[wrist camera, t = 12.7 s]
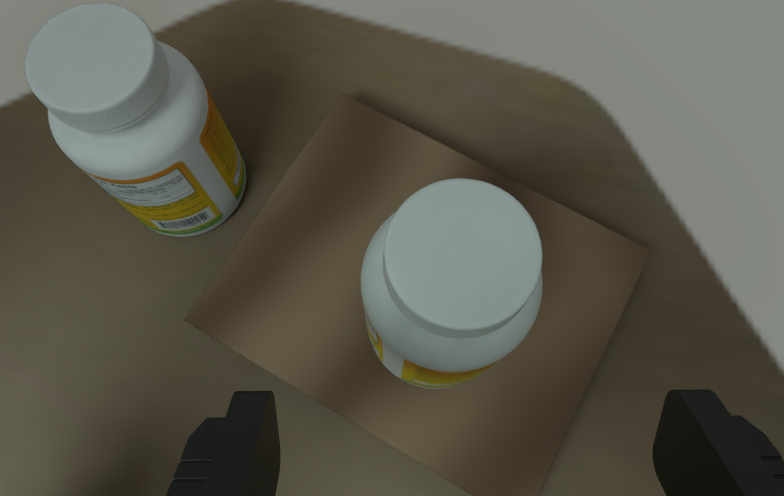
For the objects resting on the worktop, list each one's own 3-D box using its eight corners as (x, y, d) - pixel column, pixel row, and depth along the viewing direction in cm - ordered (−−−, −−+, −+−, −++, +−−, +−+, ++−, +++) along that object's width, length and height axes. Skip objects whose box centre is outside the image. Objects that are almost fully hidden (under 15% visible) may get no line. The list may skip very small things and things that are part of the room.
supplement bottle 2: (340, 328, 24) (308, 257, 15) (427, 232, 26) (447, 113, 16) (444, 421, 23) (477, 405, 14) (530, 316, 24) (612, 239, 15)
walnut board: (195, 327, 26) (184, 320, 24) (343, 109, 29) (341, 92, 28) (515, 520, 24) (523, 525, 22) (637, 261, 27) (651, 250, 25)
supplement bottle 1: (183, 111, 29) (86, -46, 20) (272, 171, 28) (213, 35, 19) (104, 197, 28) (-40, 72, 18) (195, 263, 27) (90, 166, 18)
